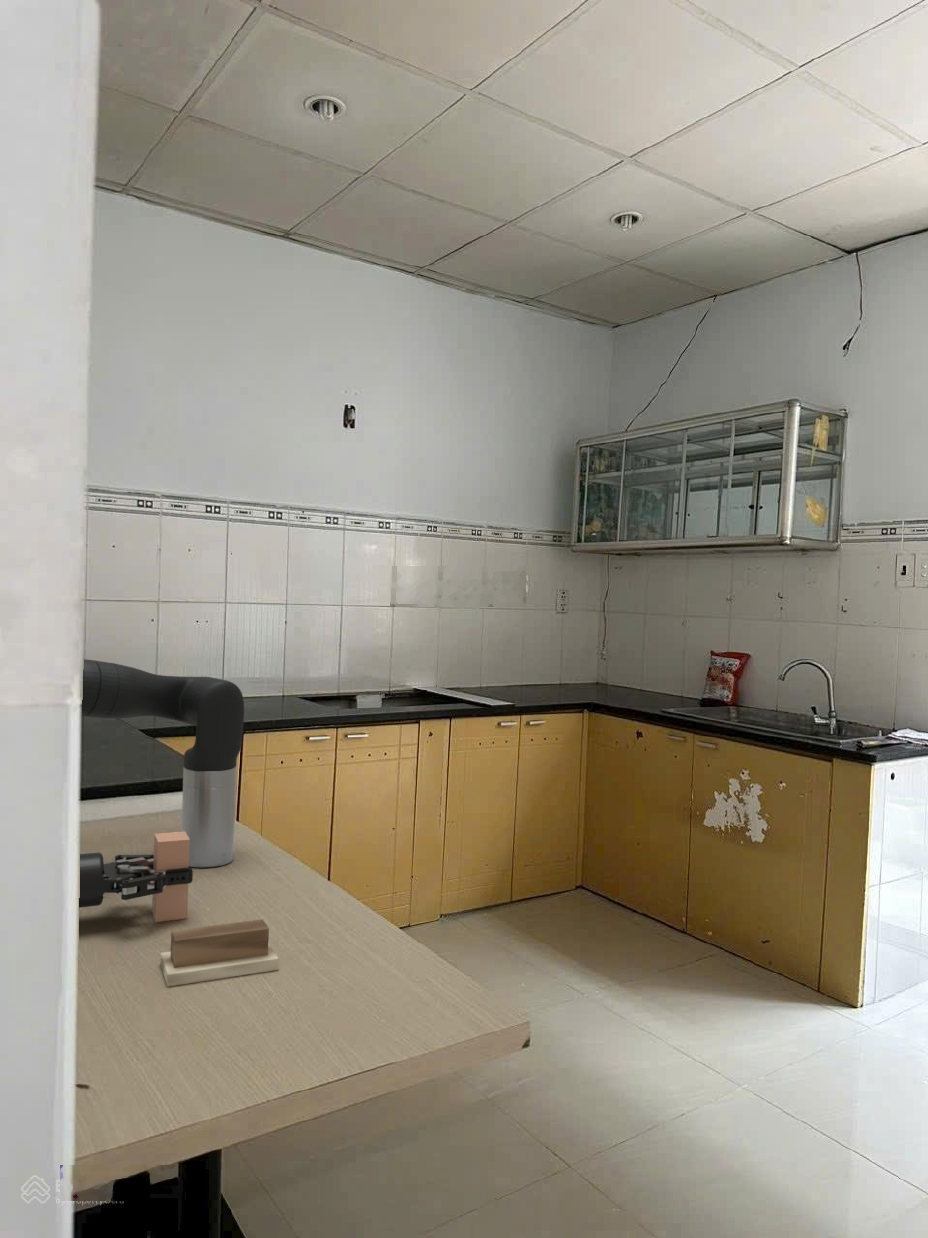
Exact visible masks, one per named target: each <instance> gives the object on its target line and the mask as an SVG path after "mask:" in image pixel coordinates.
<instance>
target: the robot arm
mask: <svg viewBox="0 0 928 1238" xmlns="http://www.w3.org/2000/svg"><path fill="white" fill-rule="evenodd" d="M83 659H84V658H83ZM244 700H245V699H244V695H243V693H242V691H241V689H240V688H239V686H238V685H237V684H236V683H234V682H232V681H229V680H224V679H221V678H216V677H210V676H179V675H178V676H175V675H161V674H155V673H151V672H148V671H145V670H142V669H139V668H136V667H133V666H132V667H131V666H128V665H123V664H119V663H114V662H108V661H101V660H94V659H84V669H83V700H82V716H81V717H87V718H88V717H90V718H97V719H98V718H99V719H127V718H128V719H129V718H138V717H146V716H147V717H155V718H156V717H158V718H164V719H168V720H174V721H178V722H181V723H185V724H188V725H192V726H194V727H196V728H195V740H194V744H193V746H192V747H190V748H188V749H186V751H185V752H184V754H183V769H182V771H183V772H182V773H183V776H182V806H181V831H180V832H184V831H185V832H186V834H187V836H188V837H189V839H190V846H189V868H180V869H169V870H153V864H154V854H118V855H117V854H116V855H115V856H114V862H108V863H105V864H104V856H103V854H102V853H101V852H89V853H79V854H80V898H79V908H78V909H80V908H88V907H99V906H100V905H101V904H102V903H103V902H104V901H103V899H104V894H106V893H109V894H110V893H113V894H119V895H121V900H122V901H128V900H131V899H137V898H142V897H147V896H151V895H152V894H157V893H162V892H163V888H166V886H169V885H178V884H188V885H189V884H191V883H192V882H193V878H194V877H193V876H194V875H193V874H194V873H193V872H194V871H193V869H192V868H215V867H216V868H217V867H221V866H224V865H227V864H229V863H231V862H233V860H234V844H235V821H236V820H235V817H236V816H235V815H236V812H235V811H236V792H237V791H236V789H237V787H236V784H237V783H236V782H237V760H238V756H239V754H240V752H241V749H242V745H243V743H242V742H243V733H244V721H245V701H244ZM153 881H154V883H153Z"/></svg>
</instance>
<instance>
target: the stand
mask: <svg viewBox="0 0 928 1238" xmlns="http://www.w3.org/2000/svg"><path fill="white" fill-rule="evenodd" d="M269 934H270V928H269V926H268V925H267V924H266V922H265V921H264V919H263V918H262V919H253V920H246V921H239V922H231V923H221V924H214V925H206V926H200V927H199V926H198V927H197V926H196V927H190V928H183V929H175V930H171V931H170V951H164V952H160V967H161V971H162V973H163V977H164V979H165V983H166V987H175V986H179V985H180V986H181V985H188V984H193V983H194V984H195V983H200V982H201V983H202V982H207V981H212V980H213V981H214V980H221V979H226V978H232V977H239V976H241V977H242V976H247V975H253V974H260V973H265V972H273V971H278V970H279V962H280V961H279V957H278V955H277V954H276V951H274V949H273V947H272V945H271V944H270V942H269V936H270V935H269Z"/></svg>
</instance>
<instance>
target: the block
mask: <svg viewBox="0 0 928 1238" xmlns="http://www.w3.org/2000/svg"><path fill="white" fill-rule="evenodd" d="M153 837H154V838H153V840H154V841H153V855H154V864H153V870H169V869H180V868H189V867H190V866H189V846H190V839H189V837H188V836H187V834H186V832H185V831H184V832H181V831H174V832H171V831H170V832H161V833H154V836H153ZM152 883H154V881H152ZM188 898H189V883H188V884H178V885H169V886H166V888H163V892H162V893H157V894H152V899H151V900H152V902H151V913H152V916H153V919H154V922H155V923H160V922H167V921H176V920H185V919H188V900H189V899H188Z"/></svg>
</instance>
